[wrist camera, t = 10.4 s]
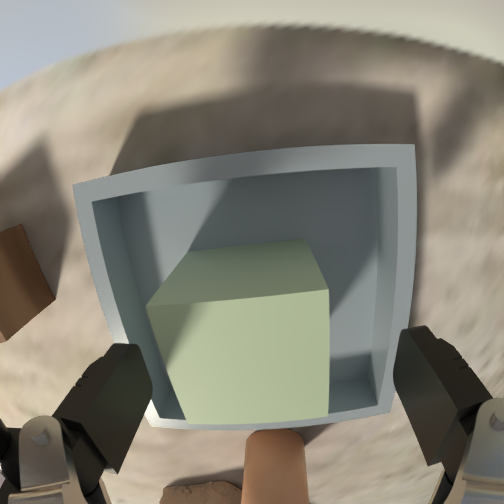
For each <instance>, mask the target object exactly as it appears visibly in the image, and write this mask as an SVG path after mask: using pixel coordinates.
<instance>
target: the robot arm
mask: <svg viewBox="0 0 504 504" xmlns="http://www.w3.org/2000/svg"><path fill="white" fill-rule="evenodd" d="M393 382H394V386H395V389H396V391H397V393H398V395H399V398H400V400H401V402H402V404H403V407H404V409H405V411H406V414H407V416H408V418H409V420H410V423H411V425H412V428H413V430H414V432H415V435H416V437H417V440H418V442H419V445H420V447H421V450H422V452H423V455H424V457H425V460H426V462H427V465H428V466H430V465H433V464H436V463H439V462H442V464H443V466H444V469H443V471H442V472H441V474H440V477H439V480H438V482H437V485H436V487H435V490H434V492H433V494H432V497H431V499H430V501H429V503H428V504H504V398H494V399H493V397H492V396H491V395H490V393H489V392H488V390H487V389H486V388H485V386H484V385H483V384H482V382H481V381H480V379H479V378H478V377H477V375H476V374H475V373H474V372H473V370H472V369H471V368H470V367H468V364H467V362H466V361H465V360H464V359H462V356H461V355H460V354H459V352H458V351H457V350H456V349H455V347H454V346H453V345H451V344H449V343H448V342H446V341H445V340H443V339H441V338H440V339H437V338H436V337H435V336H434V335H433V333H432V332H431V331H430V330H429V328H428V327H427V326H425V325H423V326H418V327H412V328H406V329H402V330H401V332H400V335H399V341H398V347H397V352H396V357H395V362H394V367H393ZM75 385H76V386H73V388H72V389H71V390H70V392H69V393H68V394H67V396H66V397H65V399H64V400H63V401H62V403H61V404H60V405H59V407H58V408H57V410H56V411H55V412H54V414H53V415H52V416H38V417H35V418H33V419H31V420H29V421H28V422H27V423H26V424H25V425H24V426H23V427H22V428H7V427H6V426H5V425H4V423H3V422H2V420H1V419H0V473H1V474H2V475H3V476H4V477H5V478H6V479H5V481H4V482H3V484H2V486H1V488H0V504H112V503H111V501H110V498H109V496H108V493H107V490H106V487H105V484H104V482H103V480H102V479H101V475H102V473H103V471H106V472H110V473H114V474H117V475H118V473H119V471H120V468H121V466H122V464H123V461H124V459H125V457H126V454H127V452H128V450H129V447H130V445H131V443H132V441H133V438H134V436H135V434H136V432H137V429H138V427H139V425H140V423H141V420H142V418H143V416H144V414H145V411H146V409H147V407H148V405H149V403H150V400H151V398H152V393H153V386H152V381H151V378H150V375H149V372H148V369H147V367H146V364H145V361H144V358H143V355H142V352H141V349H140V347H139V346H138V345H137V344H127V343H114V344H113V345H112V346H111V347H110V348H109V350H108V351H107V352H106V354H105V355H104V356H103V357H100V358H99V359H98V360H96V361H95V362H93V363H92V364H91V365H89V367H88V368H87V369H86V370H85V372H84V373H83V374H82V378H79V380H78V381H77V382H76V384H75Z"/></svg>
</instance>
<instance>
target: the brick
mask: <svg viewBox="0 0 504 504" xmlns="http://www.w3.org/2000/svg"><path fill="white" fill-rule="evenodd" d="M241 498H242V490H241V489H239V488H237V487H236V486H234V485H232V484H231V483H229V482H226V481H216V482H207V483H204V484H199V485H189V486H171V487H166V488H164V489H163V496H162V498H161V500H160V504H241Z"/></svg>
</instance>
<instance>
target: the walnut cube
mask: <svg viewBox="0 0 504 504" xmlns="http://www.w3.org/2000/svg"><path fill="white" fill-rule="evenodd" d="M55 300H56V299H55V297H54V295H53V293H52V291H51V289H50V287H49V285H48V283H47V281H46V279H45V277H44V275H43V273H42V271H41V269H40V267H39V264H38V262H37V260H36V258H35V255H34V253H33V251H32V249H31V246H30V244H29V241H28V239H27V237H26V234H25V231H24V229H23V226H22V224H19V225H17V226H14V227H12V228H9V229H7V230H4V231H2V232H0V343H3V342H6V341H7V340H8V339H10V338H11V337H12V336H13V335H14V334H15V333H16V332H18V331H19V330H20V329H21V328H22V327H23V326H24V325H26V324H27V323H28V322H29V321H30V320H32V319H33V318H34V317H35V316H36V315H37V314H39V313H40V312H41V311H42V310H43V309H45V308H46V307H47V306H48V305H50V304H51V303H52V302H53V301H55Z"/></svg>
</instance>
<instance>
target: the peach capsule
mask: <svg viewBox="0 0 504 504" xmlns="http://www.w3.org/2000/svg"><path fill="white" fill-rule="evenodd" d="M241 504H309V495H308V483H307V472H306V461H305V450H304V440H303V438H302V436H301V435H300V434H298V433H297V432H295V431H292V430H289V429H284V428H280V429H264V430H260V431H257V432H255V433H253V434H252V435H250V436H249V437H248V439H247V441H246V448H245V461H244V474H243V486H242V498H241Z"/></svg>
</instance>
